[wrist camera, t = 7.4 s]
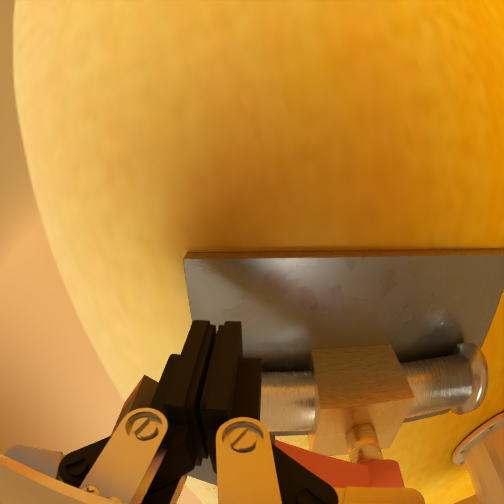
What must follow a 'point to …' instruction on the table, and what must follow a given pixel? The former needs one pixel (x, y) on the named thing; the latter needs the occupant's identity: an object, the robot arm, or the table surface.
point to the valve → (355, 336)
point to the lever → (320, 465)
